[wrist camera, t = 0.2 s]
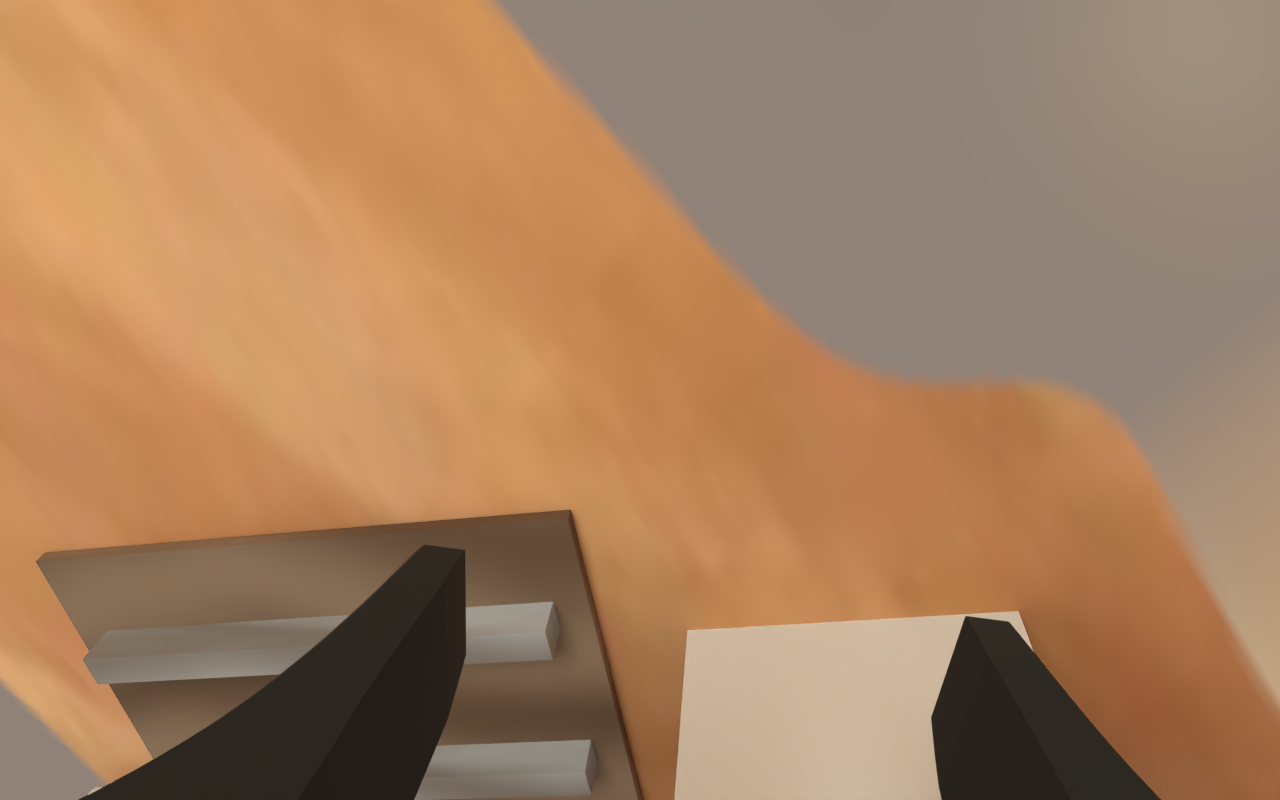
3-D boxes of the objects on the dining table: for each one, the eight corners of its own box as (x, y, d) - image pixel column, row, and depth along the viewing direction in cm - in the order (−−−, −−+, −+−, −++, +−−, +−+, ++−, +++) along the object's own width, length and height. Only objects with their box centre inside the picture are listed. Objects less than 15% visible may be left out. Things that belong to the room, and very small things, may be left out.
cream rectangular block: (1015, 689, 26) (1081, 887, 21) (701, 703, 28) (691, 892, 23) (1017, 608, 25) (1089, 800, 20) (687, 628, 27) (673, 810, 21)
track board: (644, 809, 30) (639, 853, 29) (201, 820, 33) (177, 861, 32) (570, 509, 25) (560, 547, 23) (44, 552, 27) (7, 588, 26)
